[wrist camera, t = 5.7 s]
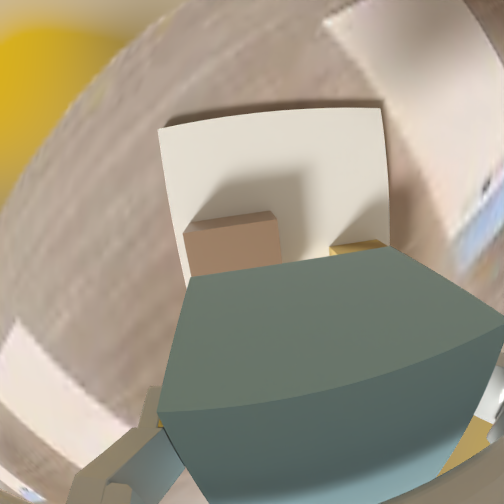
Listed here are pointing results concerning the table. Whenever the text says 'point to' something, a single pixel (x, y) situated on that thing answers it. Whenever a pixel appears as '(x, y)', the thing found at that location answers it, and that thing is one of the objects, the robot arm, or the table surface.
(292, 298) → the teal block
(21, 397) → the table surface
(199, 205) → the board
